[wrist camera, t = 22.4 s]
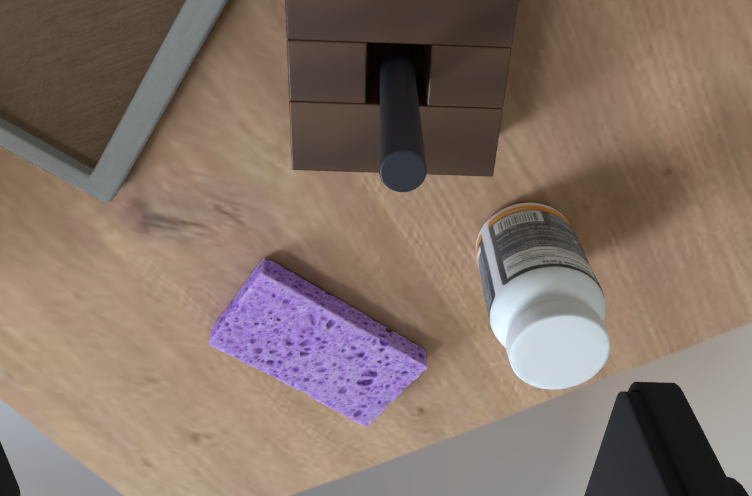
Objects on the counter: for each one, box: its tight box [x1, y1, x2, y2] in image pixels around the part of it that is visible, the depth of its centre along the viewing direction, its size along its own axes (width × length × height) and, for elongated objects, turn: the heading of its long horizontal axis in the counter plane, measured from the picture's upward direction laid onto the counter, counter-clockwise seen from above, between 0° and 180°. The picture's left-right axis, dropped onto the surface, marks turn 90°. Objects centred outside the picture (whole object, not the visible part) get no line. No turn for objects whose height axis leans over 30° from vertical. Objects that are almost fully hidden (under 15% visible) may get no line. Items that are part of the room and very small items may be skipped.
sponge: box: [208, 258, 428, 427], centre depth 43 cm, size 7×13×2 cm, turn 54°
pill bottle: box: [476, 203, 610, 389], centre depth 35 cm, size 6×6×10 cm
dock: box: [285, 0, 518, 176], centre depth 31 cm, size 10×10×4 cm
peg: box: [379, 43, 427, 192], centre depth 28 cm, size 2×2×13 cm
